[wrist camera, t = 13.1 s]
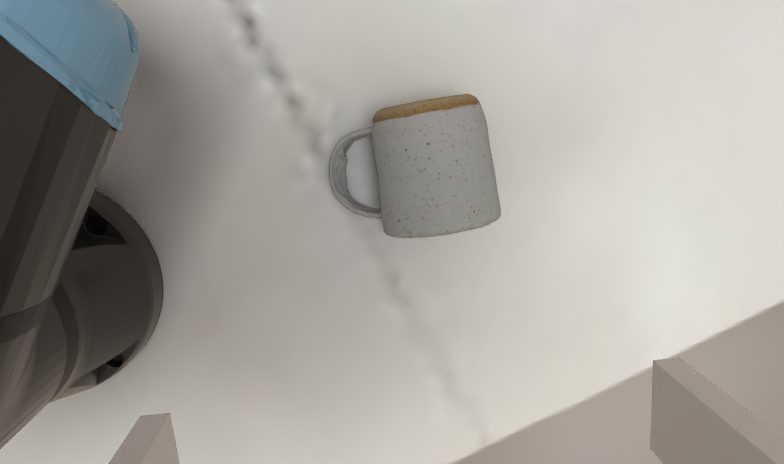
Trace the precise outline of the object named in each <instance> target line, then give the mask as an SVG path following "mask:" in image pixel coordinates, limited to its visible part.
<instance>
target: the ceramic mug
mask: <svg viewBox="0 0 784 464" xmlns="http://www.w3.org/2000/svg"><path fill="white" fill-rule="evenodd" d="M369 134H370V135H372V141H373V150H374V156H375V161H376V169H377V176H378V187H379V196H380V204H381V209H374V208H370V207H367V206H364V205H362V204H360V203H358V202H357V201H355V200H354V199H353V198H352V197H351V195H350V193H349V191H348V189H347V183H346V172H345V168H346V162H347V158H346V156H345V153H346V151H347V149H348V148H349V147H350V145H351V144H352V143H353V142H354V141H355V140H357V139H360V138H361V137H363V136H366V135H369ZM329 174H330V182H331V187H332V190H333V192H334V194H335V196H336V198H337V199H338V200H339V201H340V202H341V203H342V204H343V205H344V206H345V207H346V208H348V209H349V210H351V211H353V212H354V213H357V214H360V215H363V216H366V217H371V218H382V220H383V228H384V232H385V233H386V234H387V235H389V236H392V237H401V238H415V237H433V236H440V235H447V234H452V233H458V232H462V231H467V230H472V229H476V228H480V227H484V226H486V225H489V224H490V223H492V222H494V221H496V220H498V218H499V217H500V215H501V208H500V202H499V197H498V191H497V185H496V178H495V172H494V166H493V160H492V155H491V150H490V143H489V136H488V128H487V123H486V120H485V116H484V113H483V110H482V107H481V105H480V102H479V100H478V99H477V98H476V97H474V96H472V95H470V94H464V95H456V96H449V97H442V98H436V99H429V100H424V101H419V102H414V103H408V104H403V105H398V106H393V107H389V108H384V109H381V110H380V111H378V112H377V113H376V115H375V117H374V118H373V127H372V128H368V129H363V130H359V131H356V132H354V133H351V134H349V135H348V136H346V137H345V138H343V139H342V140H341V141H340V142H339V143H338V145H337V146H336V148H335V149H334V151H333V153H332V155H331V160H330V166H329Z"/></svg>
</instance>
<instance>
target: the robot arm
mask: <svg viewBox="0 0 784 464" xmlns="http://www.w3.org/2000/svg"><path fill="white" fill-rule="evenodd" d="M140 54H141V47H140V40H139V36H138V33H137V31H136V29H135V27H134V25H133V23H132V21H131V20H130V19H129V17H128V16H127V15H126V13H125V12H124V11H123V10H122V9H121V8H120V7H118V6H117V5H116V4H115V3H114V2H112V1H111V0H0V449H1V448H2V447H3V446H4V445H5V444H6V443H7V442H8V441H9V440H10V439H11V438H12V437H13V436H14V435H15V434H16V433H17V432H18V431H20V430H21V429H22V428H23V427H24V426H25V425H26V424H27V423H28V422H29V421H30V420H31V419H32V418H33V417H34V416H35V415H36V414H37V413H38V412H40V411H41V410H42V409H43V407H45V406H46V405H47V404H48V403H50V402H53V401H55V400H58V399H61V398H64V397H67V396H70V395H73V394H75V393H78V392H81V391H84V390H87V389H89V388H92V387H94V386H96V385H99V384H100V383H102V382H104V381H106V380H107V379H109V378H110V377H112V376H113V375H115V374H116V373H118V372H119V371H120V370H121V369H122V368H124V367H125V366H126V365H127V364H128V363H129V362H130V361H131V359H132V358H133V357H134V356H135V355H136V354H137V353H138V352H139V351H140V350H141V349H142V347H143V346H144V345H145V344H146V342H147V341H148V339H149V338H150V336H151V334H152V333H153V331H154V329H155V326H156V324H157V321H158V318H159V315H160V311H161V306H162V297H163V285H162V276H161V271H160V266H159V263H158V260H157V257H156V254H155V252H154V250H153V248H152V245H151V243H150V242H149V240H148V238H147V236H146V235H145V234H144V232H143V231H142V229H141V228H140V227H139V225H138V224H137V223H136V222H135V221H134V219H133V218H132V217H131V216H130V215H129V214H128V213H127V212H126V211H124V210H123V209H122V208H121V207H120V206H119V205H117V204H116V203H114V202H113V201H112V200H110V199H109V198H107V197H105V196H104V195H102V194H100V193H98V192H97V191H94V190H95V187H96V184H97V182H98V179H99V177H100V174H101V171H102V169H103V166H104V164H105V161H106V158H107V156H108V153H109V151H110V148H111V145H112V143H113V140H114V138H115V135H116V132H122V130H123V127H124V120H123V118H122V113H123V110H124V107H125V104H126V101H127V98H128V94H129V91H130V88H131V85H132V82H133V79H134V76H135V73H136V70H137V67H138V64H139V60H140ZM650 449H651V450H652V451H653V452H654V453H655V455H656V456H657V457H658V458H659V459H660V460H661V461H662V462H663V464H784V436H782V435H781V434H779V433H778V432H777V431H776V430H774V429H773V428H772V427H770V426H769V425H768V424H766V423H765V422H764V421H762V420H761V419H760V418H759V417H757V416H756V415H755V414H753V413H752V412H751V411H749V410H748V409H747V408H745V407H744V406H743V405H741V404H740V403H739V402H737V401H736V400H735V399H733V398H732V397H731V396H730V395H728V394H727V393H726V392H724V391H723V390H722V389H720V388H719V387H718V386H716V385H715V384H714V383H712V382H711V381H710V380H708V379H707V378H706V377H705V376H703V375H702V374H701V373H699V372H698V371H696V370H695V369H694V368H693V367H691V366H690V365H689V364H687V363H686V362H685V361H684V360H682V359H681V358H672V359H662V360H653V377H652V408H651V437H650ZM109 464H179V458H178V453H177V448H176V442H175V437H174V431H173V426H172V421H171V415H170V413H166V414H157V415H148V416H140V418H139V419H138V421H137V422H136V424H135V425H134V427H133V428H132V430H131V431H130V433H129V434H128V436H127V437H126V439H125V440H124V442H123V443H122V445H121V446H120V448H119V449H118V451H117V452H116V454H115V455H114V457H113V458H112V460H111V461H110V463H109Z"/></svg>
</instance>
